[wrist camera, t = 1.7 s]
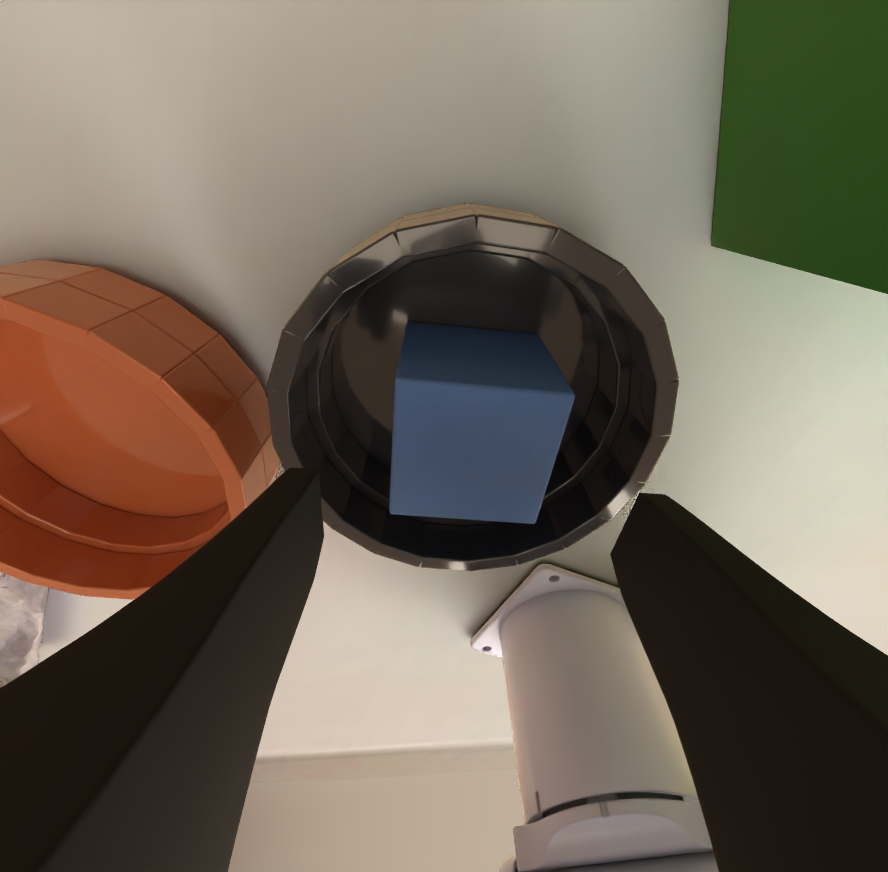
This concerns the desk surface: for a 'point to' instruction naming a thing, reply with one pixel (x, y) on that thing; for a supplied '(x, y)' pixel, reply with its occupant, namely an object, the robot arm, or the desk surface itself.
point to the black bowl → (484, 307)
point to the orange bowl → (117, 431)
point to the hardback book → (806, 138)
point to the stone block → (20, 626)
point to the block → (475, 423)
